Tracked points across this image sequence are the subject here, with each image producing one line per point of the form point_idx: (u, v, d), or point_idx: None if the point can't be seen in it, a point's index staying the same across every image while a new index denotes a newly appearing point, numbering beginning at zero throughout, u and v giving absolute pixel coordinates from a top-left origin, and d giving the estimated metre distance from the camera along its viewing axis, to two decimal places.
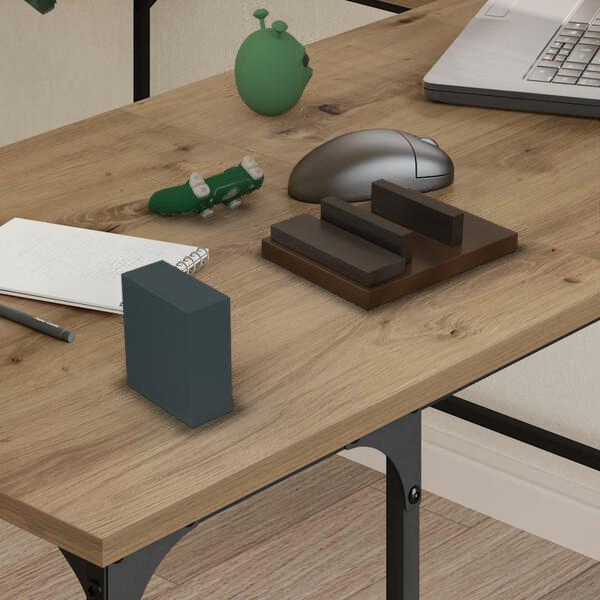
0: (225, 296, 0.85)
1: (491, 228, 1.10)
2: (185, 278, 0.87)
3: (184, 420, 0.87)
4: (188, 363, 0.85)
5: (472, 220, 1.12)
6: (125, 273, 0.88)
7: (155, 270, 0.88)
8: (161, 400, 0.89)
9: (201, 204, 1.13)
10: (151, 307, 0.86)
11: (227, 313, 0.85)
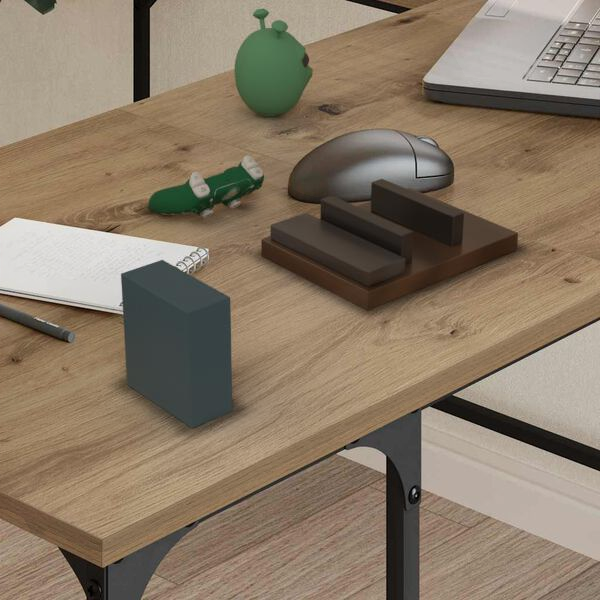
0: (225, 296, 0.85)
1: (491, 228, 1.10)
2: (185, 278, 0.87)
3: (184, 420, 0.87)
4: (188, 363, 0.85)
5: (472, 220, 1.12)
6: (125, 273, 0.88)
7: (155, 270, 0.88)
8: (161, 400, 0.89)
9: (201, 204, 1.13)
10: (151, 307, 0.86)
11: (227, 313, 0.85)
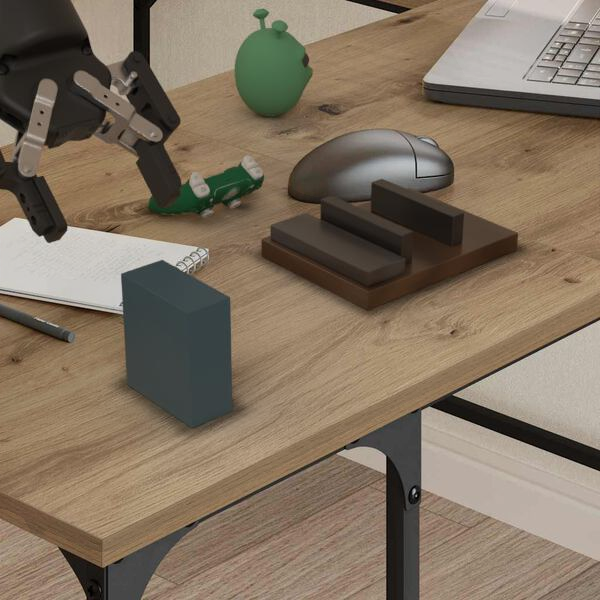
0: (225, 296, 0.85)
1: (491, 228, 1.10)
2: (185, 278, 0.87)
3: (184, 420, 0.87)
4: (188, 363, 0.85)
5: (472, 220, 1.12)
6: (125, 273, 0.88)
7: (155, 270, 0.88)
8: (161, 400, 0.89)
9: (201, 204, 1.13)
10: (151, 307, 0.86)
11: (227, 313, 0.85)
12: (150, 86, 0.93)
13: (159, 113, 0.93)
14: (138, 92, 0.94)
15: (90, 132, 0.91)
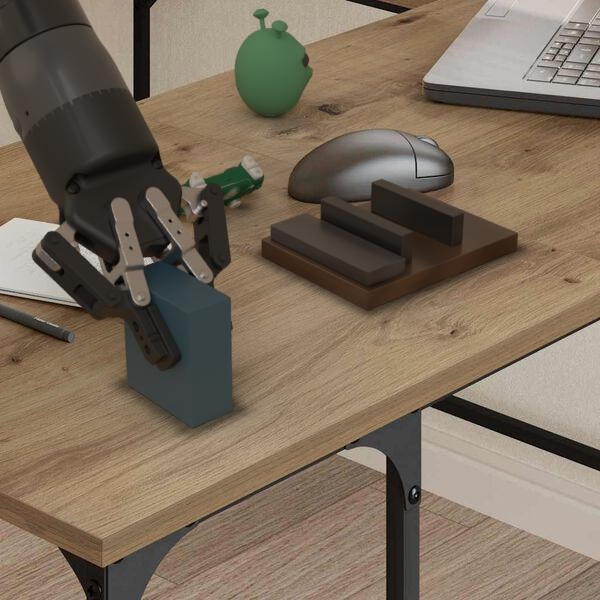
0: (225, 296, 0.85)
1: (491, 228, 1.10)
2: (185, 278, 0.87)
3: (184, 420, 0.87)
4: (189, 363, 0.85)
5: (472, 220, 1.12)
6: None
7: (156, 270, 0.88)
8: (161, 400, 0.89)
9: None
10: None
11: (227, 313, 0.85)
12: (215, 220, 0.90)
13: (211, 247, 0.89)
14: (202, 222, 0.91)
15: (161, 249, 0.89)
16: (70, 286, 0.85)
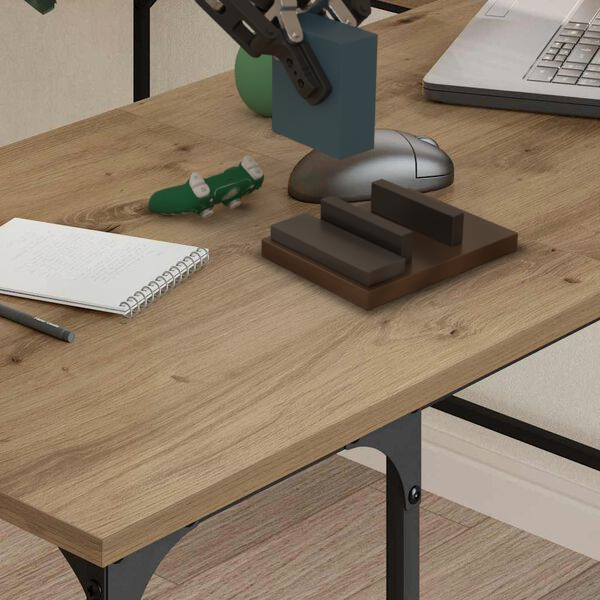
0: (373, 33, 0.92)
1: (491, 228, 1.10)
2: (332, 22, 0.94)
3: (332, 153, 0.94)
4: (339, 94, 0.92)
5: (472, 220, 1.12)
6: None
7: (303, 17, 0.95)
8: (308, 139, 0.96)
9: (201, 204, 1.13)
10: None
11: (374, 49, 0.92)
12: None
13: None
14: None
15: None
16: (230, 23, 0.92)
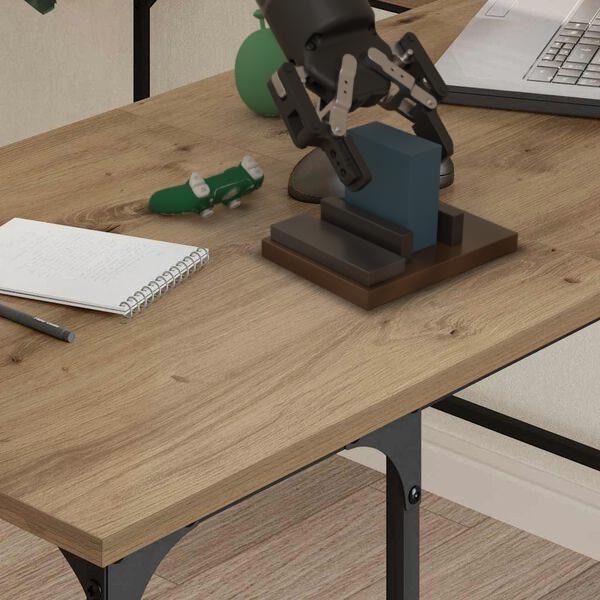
0: (437, 144, 1.04)
1: (491, 228, 1.10)
2: (400, 133, 1.06)
3: None
4: (408, 198, 1.04)
5: (472, 220, 1.12)
6: (349, 129, 1.07)
7: (374, 127, 1.07)
8: None
9: (201, 204, 1.13)
10: (375, 155, 1.05)
11: (438, 158, 1.04)
12: (423, 61, 1.09)
13: (432, 84, 1.09)
14: (412, 67, 1.10)
15: (378, 100, 1.07)
16: (287, 111, 1.03)
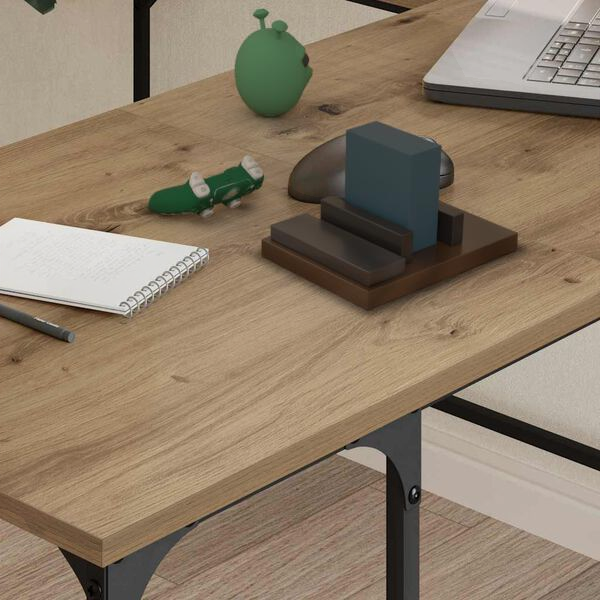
0: (437, 144, 1.04)
1: (491, 228, 1.10)
2: (400, 133, 1.06)
3: None
4: (408, 198, 1.04)
5: (472, 220, 1.12)
6: (349, 129, 1.07)
7: (374, 127, 1.07)
8: None
9: (201, 204, 1.13)
10: (375, 155, 1.05)
11: (438, 158, 1.04)
12: None
13: None
14: None
15: None
16: None
